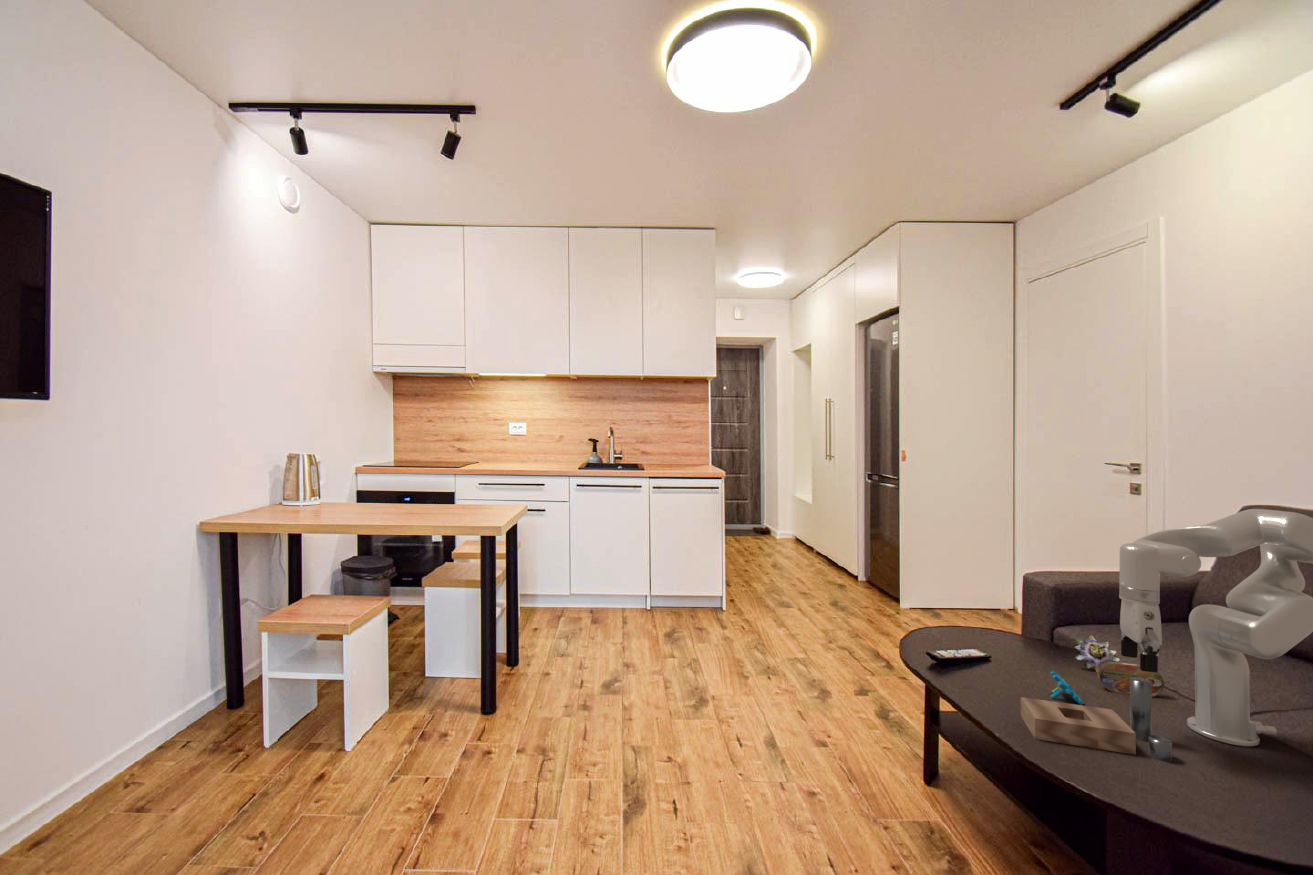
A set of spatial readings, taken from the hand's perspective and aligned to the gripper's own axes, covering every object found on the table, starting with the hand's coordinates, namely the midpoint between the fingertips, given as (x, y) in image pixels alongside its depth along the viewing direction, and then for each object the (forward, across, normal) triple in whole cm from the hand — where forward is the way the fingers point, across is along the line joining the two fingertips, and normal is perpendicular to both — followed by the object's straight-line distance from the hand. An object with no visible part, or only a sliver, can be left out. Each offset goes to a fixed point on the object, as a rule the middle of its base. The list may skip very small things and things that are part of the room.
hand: (1138, 663), depth 135 cm
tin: (+18, +29, -10) cm, 36 cm away
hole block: (+18, -4, +14) cm, 24 cm away
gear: (+18, +17, +9) cm, 27 cm away
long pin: (+18, 0, -1) cm, 18 cm away
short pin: (+18, -9, -1) cm, 20 cm away
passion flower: (+18, +47, -8) cm, 51 cm away
